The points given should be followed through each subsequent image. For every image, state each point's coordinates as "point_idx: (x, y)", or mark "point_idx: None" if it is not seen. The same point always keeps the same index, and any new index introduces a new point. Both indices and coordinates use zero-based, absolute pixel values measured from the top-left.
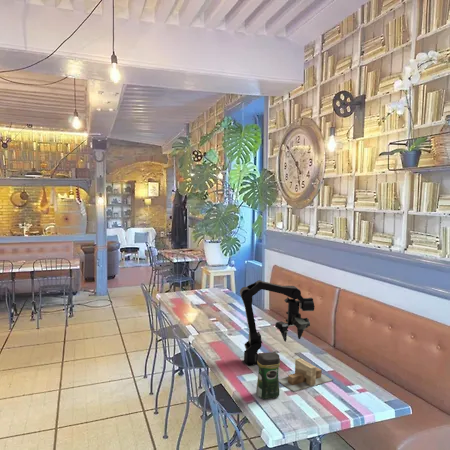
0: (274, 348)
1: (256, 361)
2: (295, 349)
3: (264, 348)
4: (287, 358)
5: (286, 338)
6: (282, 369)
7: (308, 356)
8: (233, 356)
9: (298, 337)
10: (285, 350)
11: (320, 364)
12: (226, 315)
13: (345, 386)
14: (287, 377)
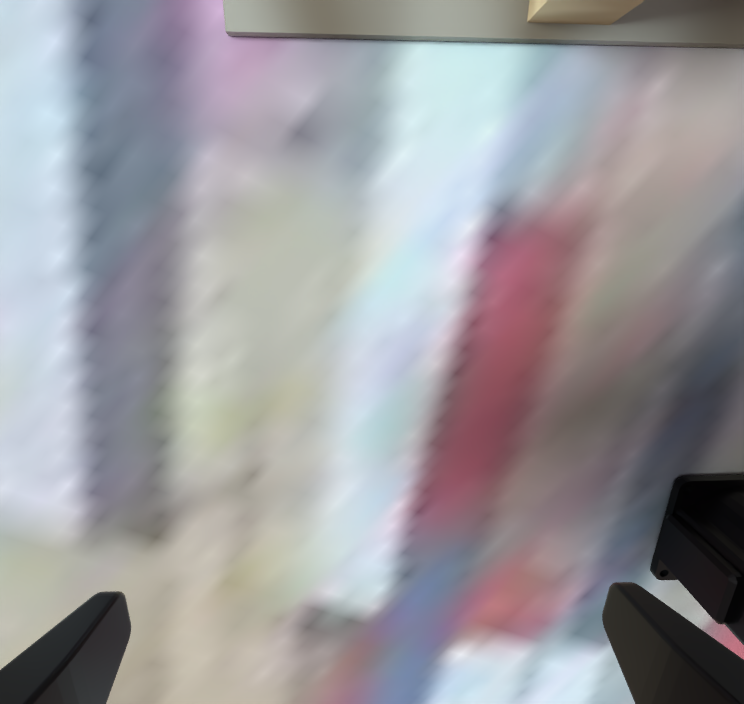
0: (293, 676)
1: (690, 510)
2: None
3: (380, 700)
4: (325, 469)
5: (705, 668)
6: (574, 273)
7: (52, 420)
8: None
9: (110, 664)
10: (218, 615)
11: (26, 164)
12: None
13: None
14: (730, 28)
